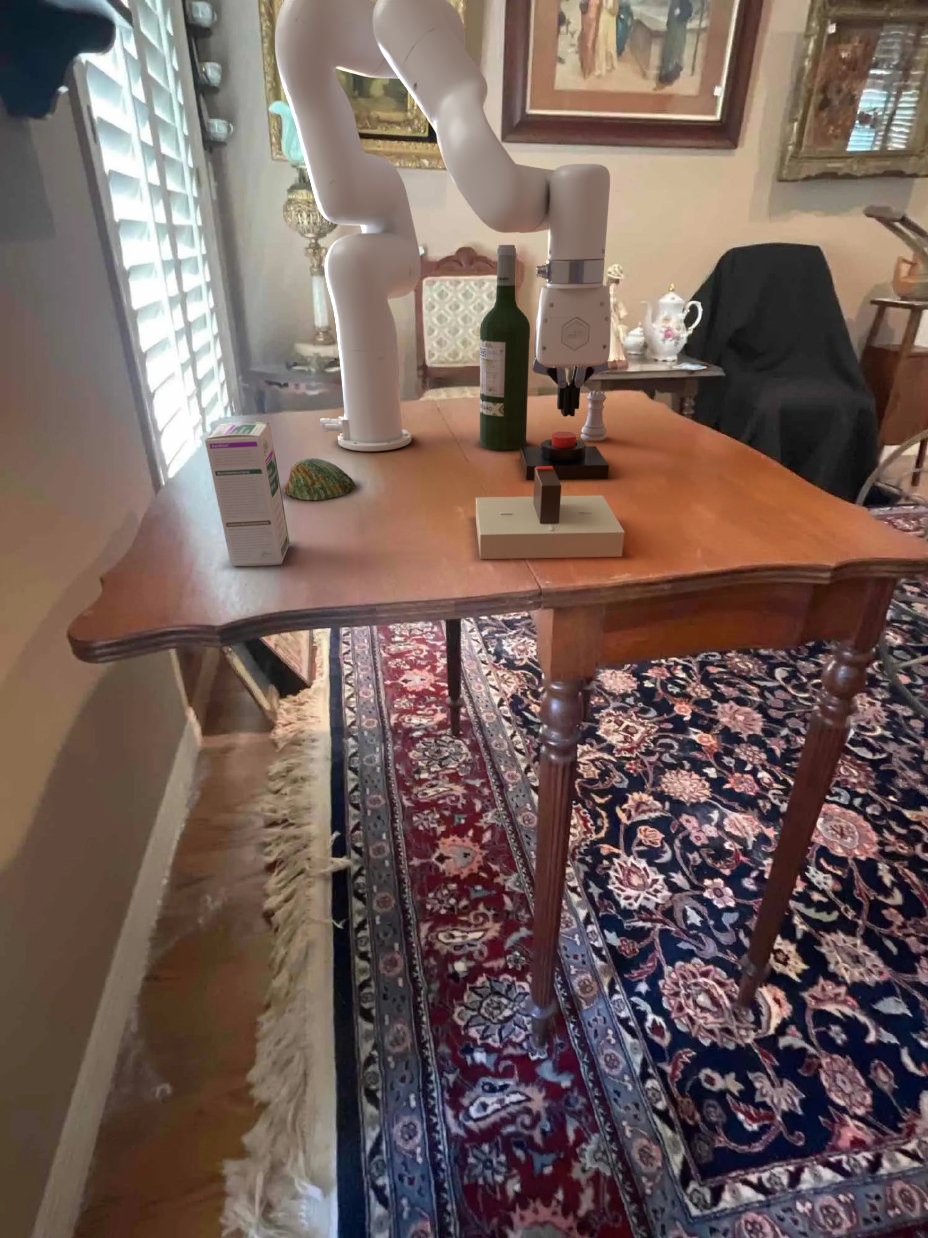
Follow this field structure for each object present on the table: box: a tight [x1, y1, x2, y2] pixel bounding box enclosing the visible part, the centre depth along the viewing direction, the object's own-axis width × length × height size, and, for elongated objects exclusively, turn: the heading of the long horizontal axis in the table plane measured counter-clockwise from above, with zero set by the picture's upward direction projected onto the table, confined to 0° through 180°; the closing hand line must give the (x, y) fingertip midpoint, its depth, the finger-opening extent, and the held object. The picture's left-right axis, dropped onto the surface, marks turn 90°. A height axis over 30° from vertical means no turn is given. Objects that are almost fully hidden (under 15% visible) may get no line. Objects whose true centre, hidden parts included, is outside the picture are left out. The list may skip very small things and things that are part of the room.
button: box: [551, 431, 577, 448], centre depth 103 cm, size 4×4×2 cm
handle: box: [533, 466, 562, 523], centre depth 80 cm, size 6×2×5 cm, turn 2°
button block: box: [519, 438, 610, 481], centre depth 104 cm, size 12×10×4 cm
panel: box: [475, 494, 625, 560], centre depth 82 cm, size 16×12×3 cm
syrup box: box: [204, 421, 290, 567], centre depth 75 cm, size 6×6×14 cm
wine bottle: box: [479, 244, 531, 452], centre depth 110 cm, size 8×8×30 cm
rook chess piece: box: [580, 389, 607, 443], centre depth 118 cm, size 4×4×8 cm
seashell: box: [283, 458, 356, 501], centre depth 98 cm, size 10×4×10 cm
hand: (567, 414), depth 101 cm, fingers closed
